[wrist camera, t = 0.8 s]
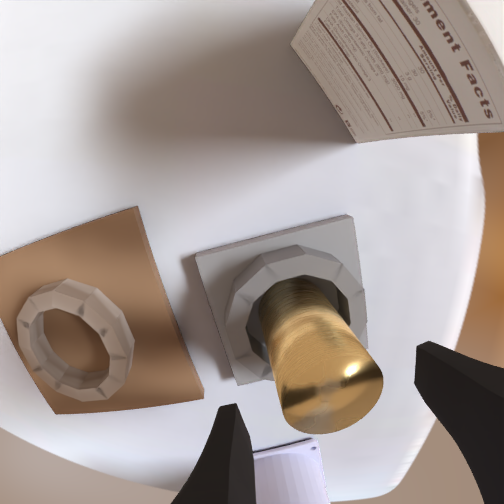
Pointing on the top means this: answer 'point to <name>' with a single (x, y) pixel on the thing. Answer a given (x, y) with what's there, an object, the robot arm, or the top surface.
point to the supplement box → (408, 65)
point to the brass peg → (316, 359)
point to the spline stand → (273, 271)
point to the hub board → (128, 288)
